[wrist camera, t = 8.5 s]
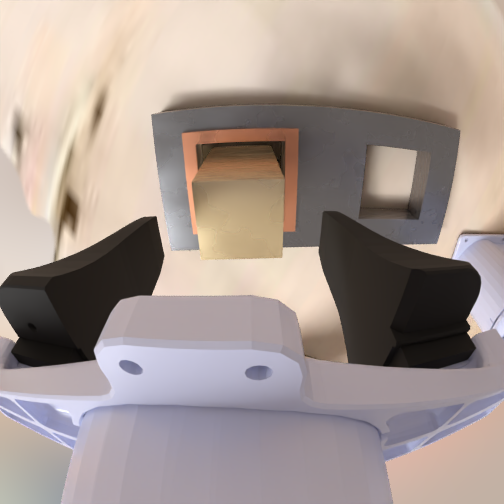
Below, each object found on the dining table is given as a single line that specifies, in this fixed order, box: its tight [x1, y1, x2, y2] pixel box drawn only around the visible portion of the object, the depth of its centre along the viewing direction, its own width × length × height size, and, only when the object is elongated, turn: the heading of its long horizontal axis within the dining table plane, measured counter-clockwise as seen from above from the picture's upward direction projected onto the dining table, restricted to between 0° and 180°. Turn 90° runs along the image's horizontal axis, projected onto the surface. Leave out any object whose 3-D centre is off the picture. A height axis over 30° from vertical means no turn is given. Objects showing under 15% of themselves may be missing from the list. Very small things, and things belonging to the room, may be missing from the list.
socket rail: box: [151, 104, 460, 251], centre depth 19 cm, size 22×10×2 cm, turn 91°
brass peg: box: [191, 145, 285, 260], centre depth 16 cm, size 4×4×8 cm
